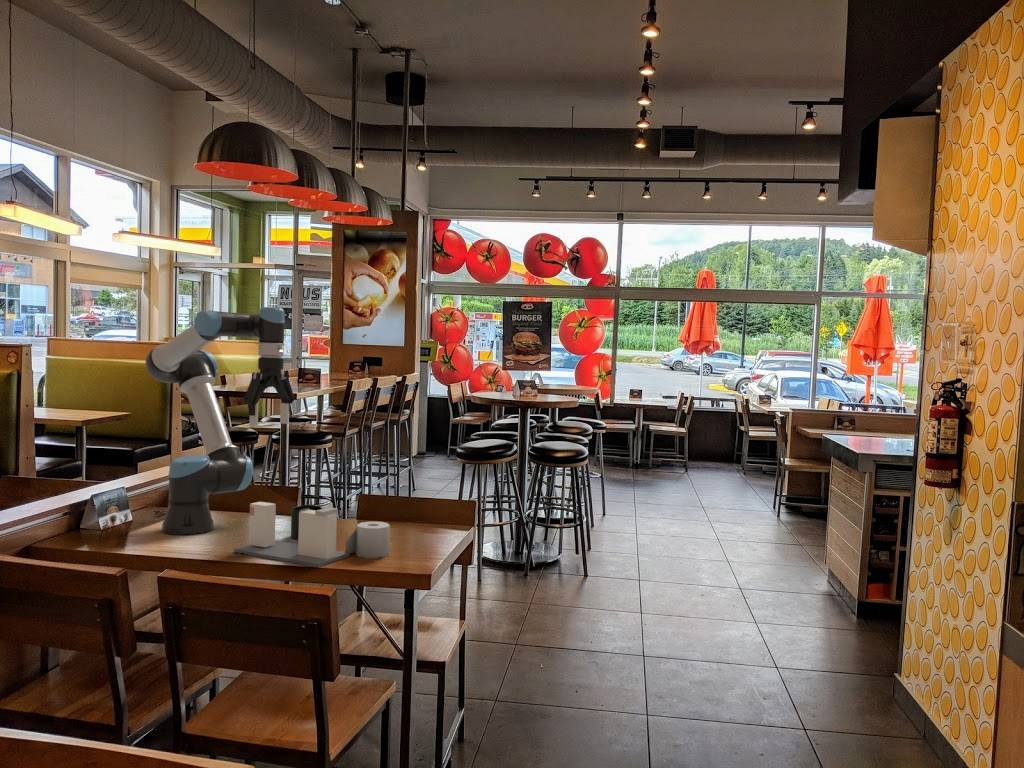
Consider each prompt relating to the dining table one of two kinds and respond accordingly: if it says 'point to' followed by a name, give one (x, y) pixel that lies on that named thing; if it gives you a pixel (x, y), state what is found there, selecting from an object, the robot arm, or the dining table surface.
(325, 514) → the grey bookend stand
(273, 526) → the white upright block
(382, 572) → the dining table surface
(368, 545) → the toilet tissue
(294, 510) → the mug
